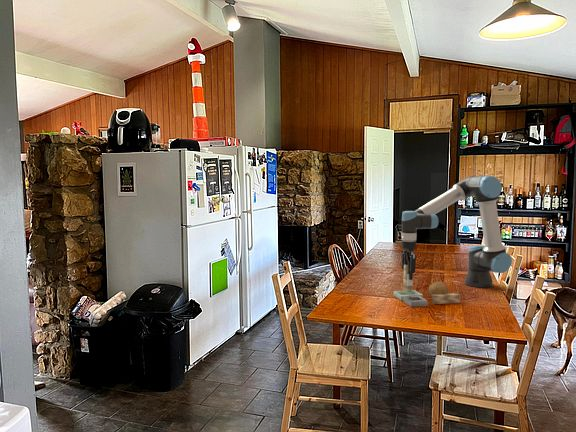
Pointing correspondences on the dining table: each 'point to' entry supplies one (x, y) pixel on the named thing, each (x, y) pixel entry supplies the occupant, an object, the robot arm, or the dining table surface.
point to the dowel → (406, 288)
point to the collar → (415, 301)
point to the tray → (406, 294)
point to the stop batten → (445, 298)
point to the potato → (438, 288)
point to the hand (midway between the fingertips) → (407, 284)
